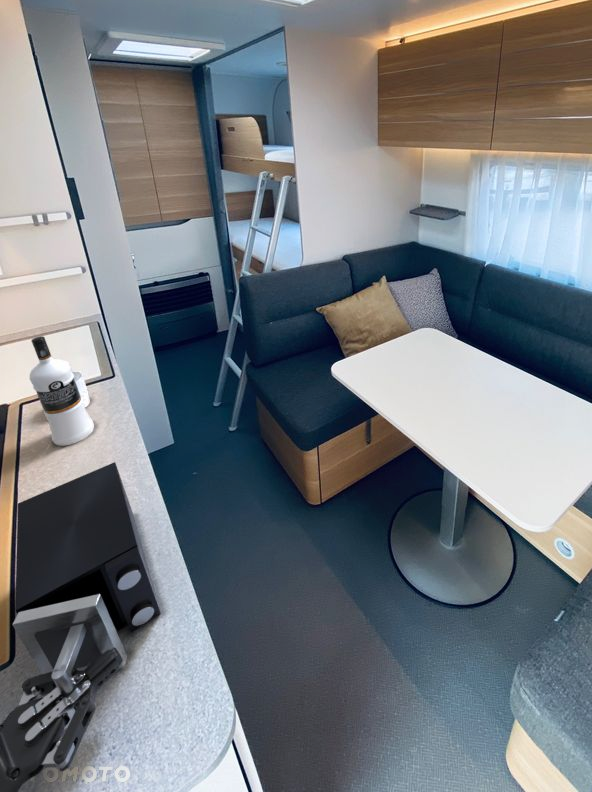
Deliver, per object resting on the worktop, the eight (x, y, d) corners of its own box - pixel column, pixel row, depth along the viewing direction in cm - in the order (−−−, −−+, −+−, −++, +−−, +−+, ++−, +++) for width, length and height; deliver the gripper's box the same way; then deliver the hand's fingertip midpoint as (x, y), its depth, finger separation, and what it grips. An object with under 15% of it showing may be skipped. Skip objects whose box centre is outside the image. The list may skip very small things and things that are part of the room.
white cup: (82, 396, 126) (72, 369, 123) (98, 403, 123) (88, 375, 119) (54, 411, 120) (43, 383, 116) (70, 419, 117) (59, 390, 113)
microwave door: (109, 724, 57) (75, 659, 51) (26, 747, 55) (-19, 682, 49) (128, 657, 64) (100, 593, 58) (55, 675, 62) (18, 611, 56)
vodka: (94, 419, 116) (61, 325, 105) (96, 438, 109) (60, 339, 98) (54, 432, 112) (14, 336, 100) (53, 453, 104) (10, 351, 93)
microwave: (162, 619, 69) (140, 556, 63) (53, 691, 60) (14, 626, 54) (134, 519, 87) (115, 461, 80) (47, 563, 78) (17, 503, 72)
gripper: (-48, 770, 50) (105, 637, 63) (-18, 879, 43) (148, 704, 56) (-74, 740, 47) (92, 607, 60) (-47, 851, 40) (135, 673, 53)
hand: (119, 654), depth 58 cm, fingers closed
